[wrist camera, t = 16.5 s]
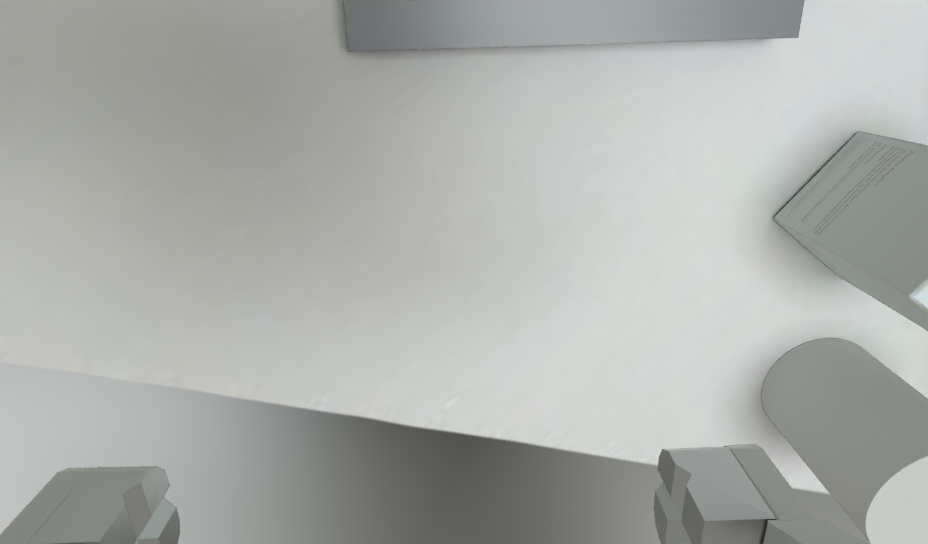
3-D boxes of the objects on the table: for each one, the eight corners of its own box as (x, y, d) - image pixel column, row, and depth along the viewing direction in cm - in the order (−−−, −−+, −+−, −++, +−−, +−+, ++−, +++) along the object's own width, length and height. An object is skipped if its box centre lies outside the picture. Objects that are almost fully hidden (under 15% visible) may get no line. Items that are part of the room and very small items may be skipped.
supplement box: (841, 281, 40) (1001, 383, 28) (768, 217, 38) (906, 296, 26) (933, 197, 38) (1148, 270, 26) (860, 125, 36) (1055, 167, 24)
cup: (868, 425, 44) (1006, 556, 33) (759, 439, 45) (858, 573, 33) (880, 330, 41) (1036, 439, 30) (763, 346, 42) (874, 459, 30)
